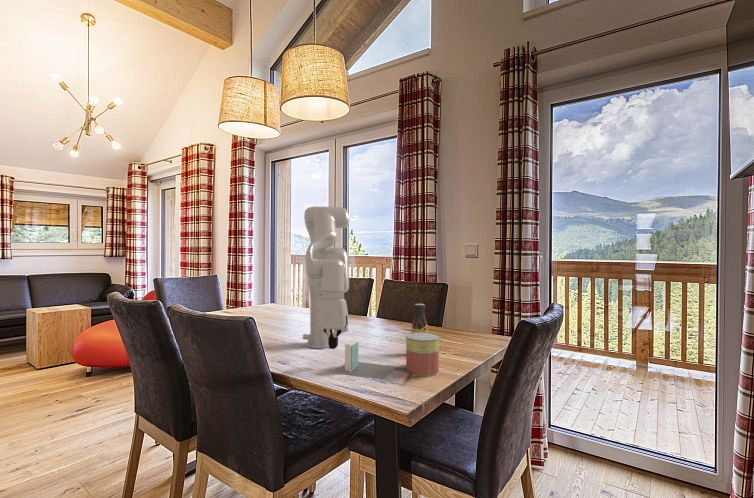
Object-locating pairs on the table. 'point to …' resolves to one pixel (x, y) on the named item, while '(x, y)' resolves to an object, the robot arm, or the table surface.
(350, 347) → the tile
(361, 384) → the table surface
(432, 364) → the canned food
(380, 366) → the slate board
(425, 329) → the sauce bottle
